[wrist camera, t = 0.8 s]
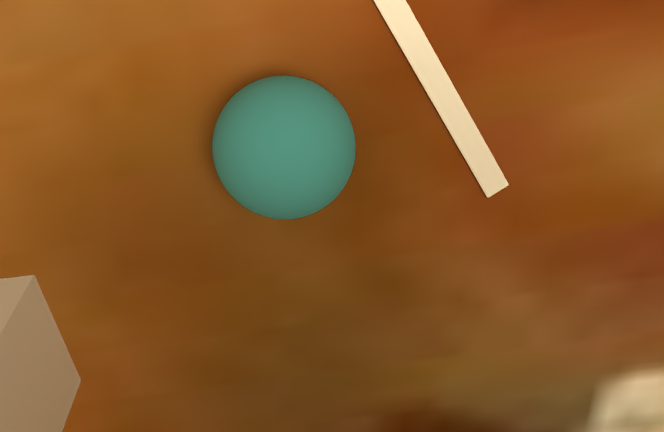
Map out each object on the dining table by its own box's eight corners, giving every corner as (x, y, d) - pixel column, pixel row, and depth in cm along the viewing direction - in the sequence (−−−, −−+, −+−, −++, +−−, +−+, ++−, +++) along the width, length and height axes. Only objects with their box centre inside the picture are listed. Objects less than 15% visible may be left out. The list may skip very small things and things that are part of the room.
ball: (307, 219, 30) (313, 265, 24) (196, 159, 29) (175, 192, 23) (371, 112, 29) (394, 134, 23) (258, 44, 27) (253, 49, 22)
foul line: (507, 183, 30) (508, 184, 30) (486, 196, 30) (487, 197, 30) (333, -126, 26) (334, -128, 25) (310, -110, 26) (310, -111, 26)
